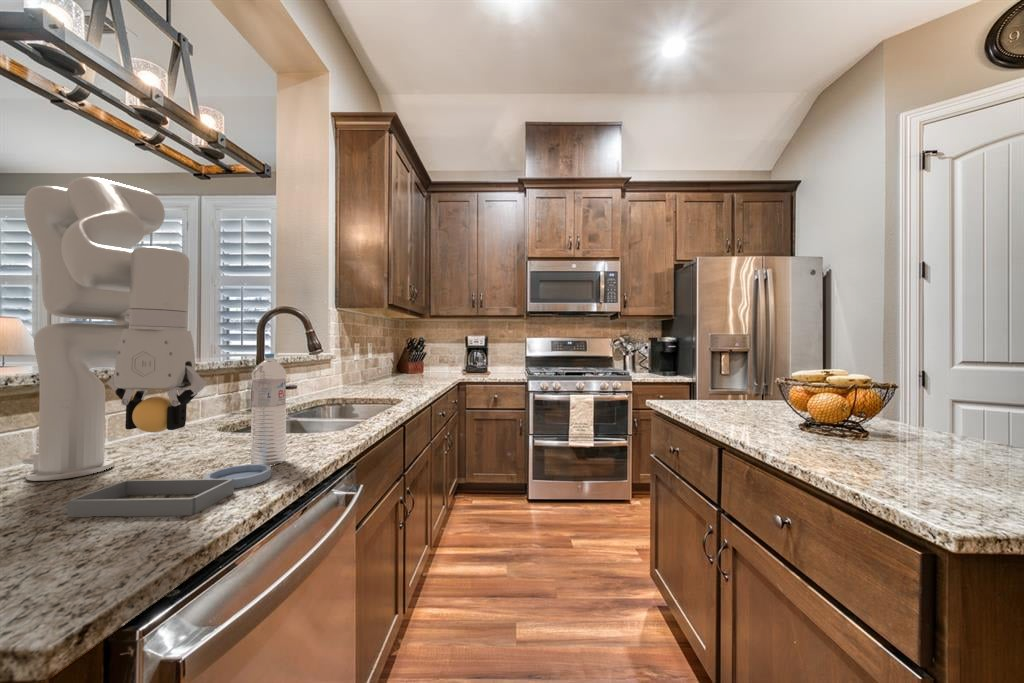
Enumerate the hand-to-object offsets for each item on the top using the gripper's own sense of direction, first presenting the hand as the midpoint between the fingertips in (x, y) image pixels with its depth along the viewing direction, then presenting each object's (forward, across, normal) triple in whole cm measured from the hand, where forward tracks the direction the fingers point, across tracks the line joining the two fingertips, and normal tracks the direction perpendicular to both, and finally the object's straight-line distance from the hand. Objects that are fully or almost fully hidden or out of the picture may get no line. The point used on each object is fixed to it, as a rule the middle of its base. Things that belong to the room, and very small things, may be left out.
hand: (156, 427), depth 68 cm
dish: (+13, +7, +11) cm, 18 cm away
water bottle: (+13, +6, +23) cm, 28 cm away
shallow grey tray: (+13, +1, -1) cm, 13 cm away
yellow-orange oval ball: (+1, 0, 0) cm, 1 cm away
